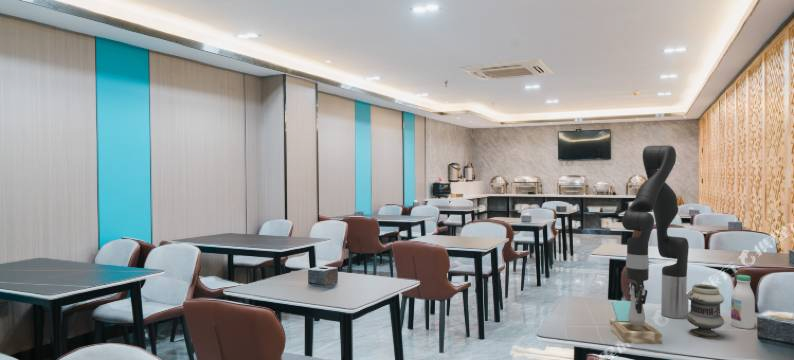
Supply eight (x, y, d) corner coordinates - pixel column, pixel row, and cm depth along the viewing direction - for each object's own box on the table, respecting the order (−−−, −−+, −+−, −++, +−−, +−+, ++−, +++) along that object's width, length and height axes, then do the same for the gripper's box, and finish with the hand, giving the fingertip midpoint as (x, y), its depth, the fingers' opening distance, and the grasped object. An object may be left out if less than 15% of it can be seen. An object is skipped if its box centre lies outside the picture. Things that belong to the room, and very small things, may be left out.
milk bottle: (752, 324, 206) (753, 274, 206) (756, 330, 199) (757, 278, 199) (729, 322, 209) (730, 273, 209) (732, 327, 202) (733, 276, 202)
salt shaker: (646, 327, 187) (647, 291, 187) (629, 326, 188) (630, 290, 188) (642, 322, 193) (643, 287, 193) (626, 321, 194) (626, 286, 194)
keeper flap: (632, 303, 205) (633, 301, 204) (639, 323, 198) (639, 321, 198) (611, 302, 206) (612, 301, 205) (617, 322, 199) (618, 320, 198)
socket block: (638, 324, 206) (638, 316, 206) (661, 343, 184) (662, 333, 184) (604, 323, 207) (604, 315, 207) (623, 342, 185) (624, 332, 185)
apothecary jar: (684, 335, 193) (685, 287, 193) (688, 327, 203) (689, 281, 202) (722, 341, 186) (723, 291, 186) (724, 333, 196) (725, 285, 196)
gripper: (655, 270, 183) (654, 319, 183) (640, 262, 197) (639, 308, 197) (633, 269, 184) (632, 318, 184) (620, 262, 198) (619, 307, 198)
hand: (636, 312), depth 191 cm, fingers closed on salt shaker, 3 cm apart
